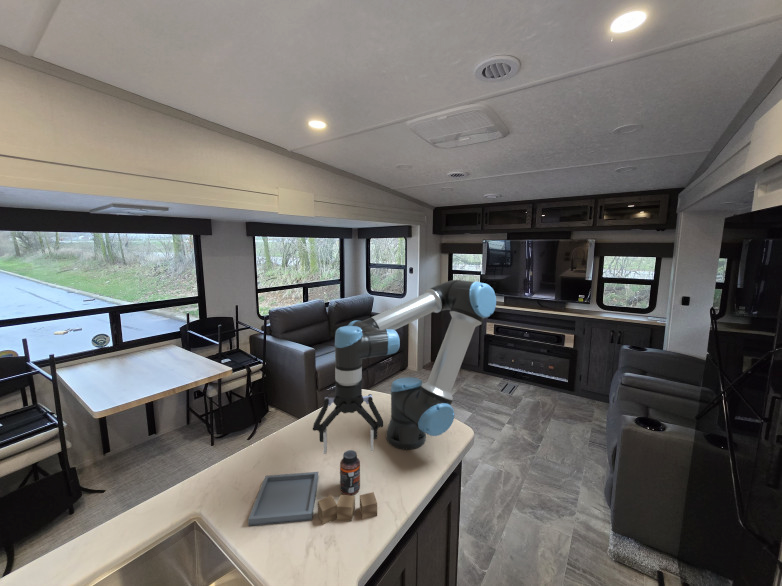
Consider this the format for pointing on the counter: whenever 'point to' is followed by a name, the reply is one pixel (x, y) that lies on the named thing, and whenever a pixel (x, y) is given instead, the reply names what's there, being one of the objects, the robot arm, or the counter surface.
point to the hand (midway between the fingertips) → (348, 449)
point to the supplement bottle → (350, 473)
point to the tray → (285, 499)
